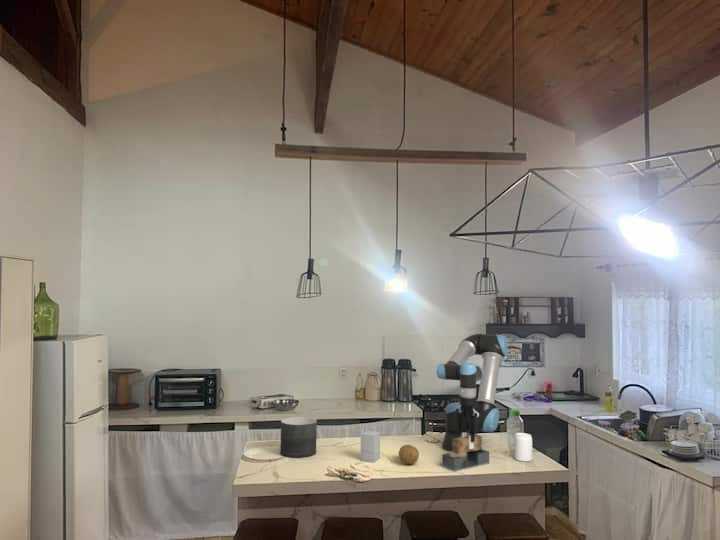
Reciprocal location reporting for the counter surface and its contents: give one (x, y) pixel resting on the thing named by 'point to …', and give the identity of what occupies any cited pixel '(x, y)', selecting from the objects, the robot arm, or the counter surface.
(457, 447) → the slat
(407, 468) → the counter surface
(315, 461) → the counter surface
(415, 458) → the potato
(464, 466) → the grey notched block
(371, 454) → the supplement box
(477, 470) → the counter surface
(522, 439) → the beverage can
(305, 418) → the planter
